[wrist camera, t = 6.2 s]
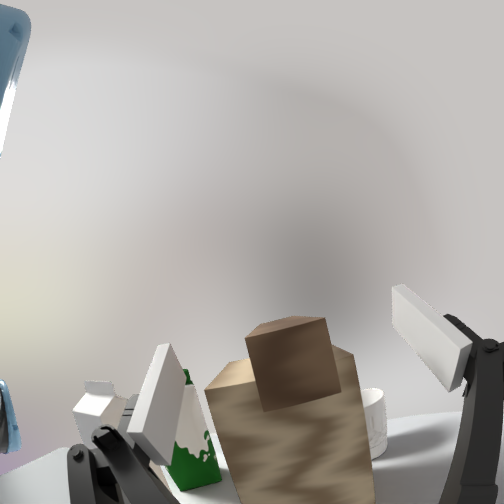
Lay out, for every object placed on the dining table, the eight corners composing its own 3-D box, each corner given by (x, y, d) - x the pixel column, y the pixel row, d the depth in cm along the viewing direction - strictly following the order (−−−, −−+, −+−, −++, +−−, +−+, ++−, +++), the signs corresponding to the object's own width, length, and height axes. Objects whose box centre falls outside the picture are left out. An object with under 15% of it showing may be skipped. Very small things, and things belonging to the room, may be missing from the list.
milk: (161, 544, 17) (89, 387, 22) (127, 530, 19) (62, 384, 24) (187, 520, 22) (131, 376, 27) (153, 511, 24) (100, 376, 29)
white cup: (385, 462, 28) (378, 406, 30) (335, 465, 32) (324, 412, 34) (394, 435, 34) (387, 384, 36) (350, 440, 38) (341, 392, 40)
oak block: (262, 551, 15) (204, 389, 20) (265, 489, 29) (229, 362, 34) (376, 525, 15) (353, 354, 20) (348, 470, 29) (322, 339, 34)
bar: (263, 412, 12) (244, 337, 13) (267, 356, 32) (260, 324, 33) (341, 392, 12) (325, 317, 13) (300, 348, 32) (293, 315, 33)
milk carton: (229, 481, 33) (195, 371, 38) (175, 495, 29) (134, 383, 34) (214, 462, 41) (185, 366, 45) (168, 473, 37) (135, 375, 42)
